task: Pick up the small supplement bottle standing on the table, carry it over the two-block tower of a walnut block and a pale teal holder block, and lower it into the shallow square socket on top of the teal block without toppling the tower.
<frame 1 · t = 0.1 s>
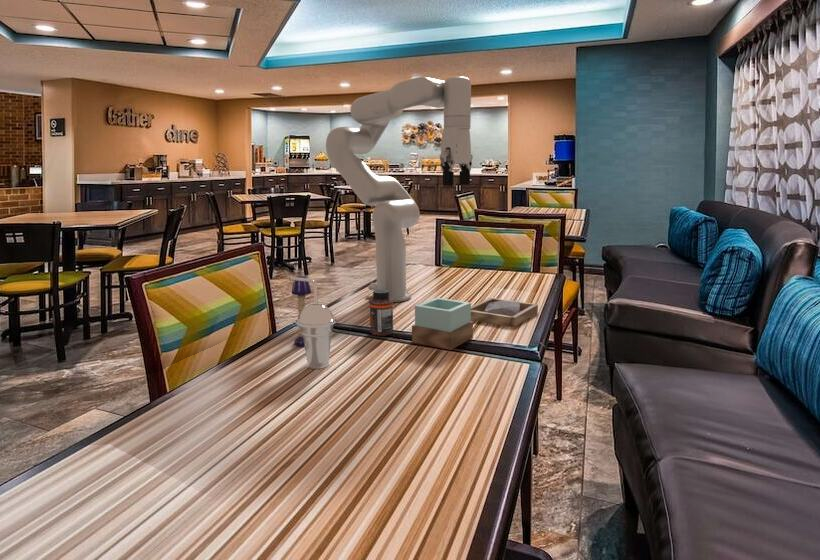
hand: (456, 185, 157), 37 cm above the table, tool pointing down, fingers open, 9 cm apart
toy lamp: (304, 344, 133), on the table
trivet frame: (501, 315, 156), on the table
cup with straw: (317, 365, 118), on the table
stone block: (502, 317, 156), on the table
supplement bottle: (381, 333, 141), on the table
tower top: (443, 323, 134), point 4 cm above the table, touching tower base
tower base: (442, 341, 135), on the table, touching tower top
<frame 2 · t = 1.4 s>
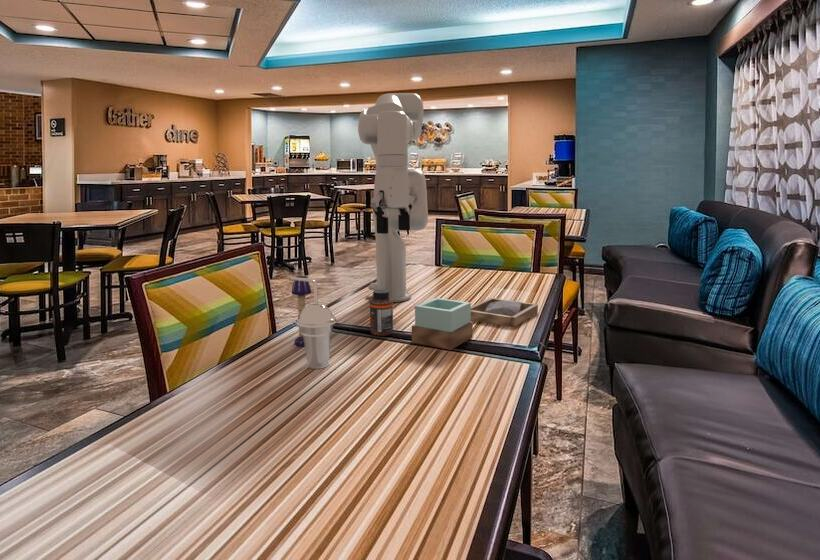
hand: (393, 231, 138), 26 cm above the table, tool pointing down, fingers open, 9 cm apart
nothing on the table moved.
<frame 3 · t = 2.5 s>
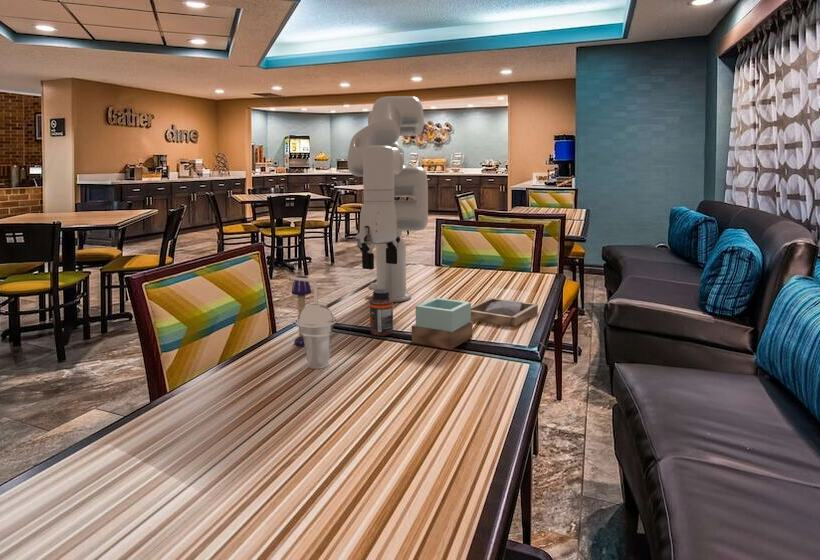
hand: (380, 266, 136), 18 cm above the table, tool pointing down, fingers open, 9 cm apart
nothing on the table moved.
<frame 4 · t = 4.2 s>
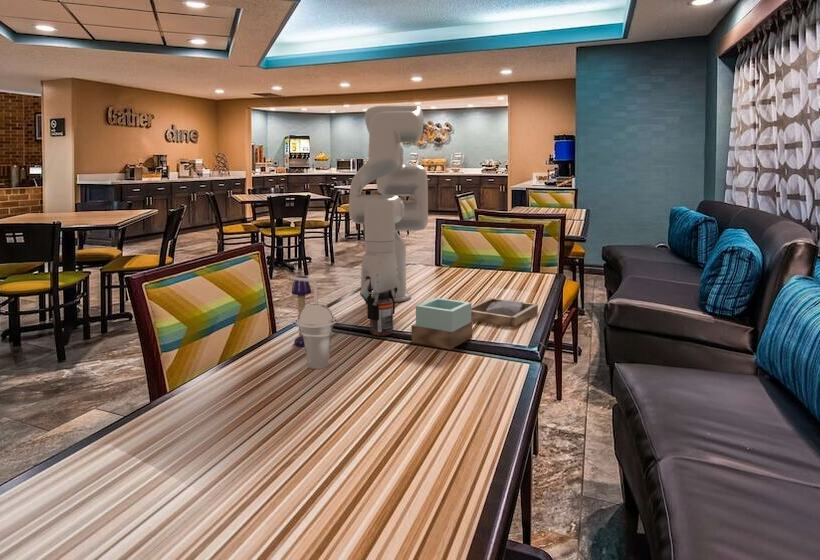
hand: (381, 315, 140), 5 cm above the table, tool pointing down, fingers closed on supplement bottle, 6 cm apart
supplement bottle: (381, 333, 141), on the table, touching gripper
tower top: (443, 323, 134), point 4 cm above the table
tower base: (442, 340, 135), on the table
everything else where it was.
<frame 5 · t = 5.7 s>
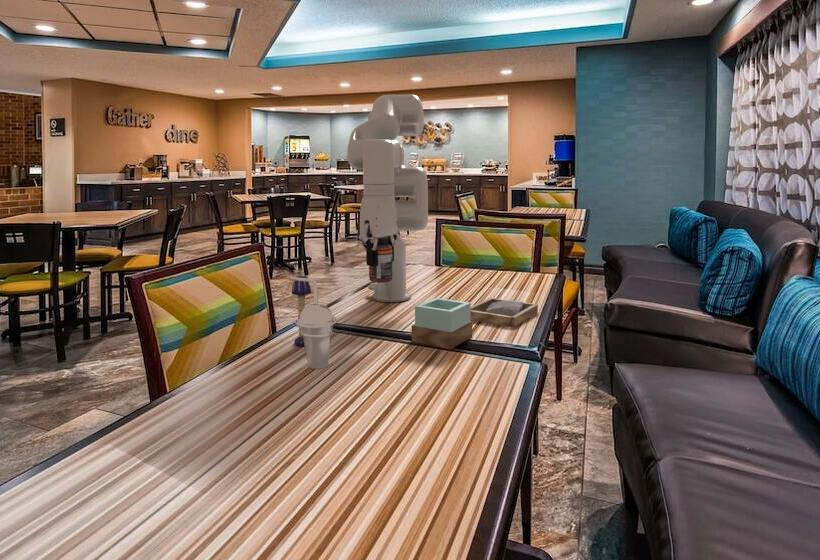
hand: (380, 262, 137), 18 cm above the table, tool pointing down, fingers closed on supplement bottle, 6 cm apart
supplement bottle: (380, 281, 138), point 14 cm above the table, touching gripper
tower top: (443, 324, 134), point 4 cm above the table, touching tower base
tower base: (442, 340, 136), on the table, touching tower top
everything else where it was.
when the fingers open (11 cm above the table, at t = 9.5 s): supplement bottle moves 1 cm, resting on tower top.
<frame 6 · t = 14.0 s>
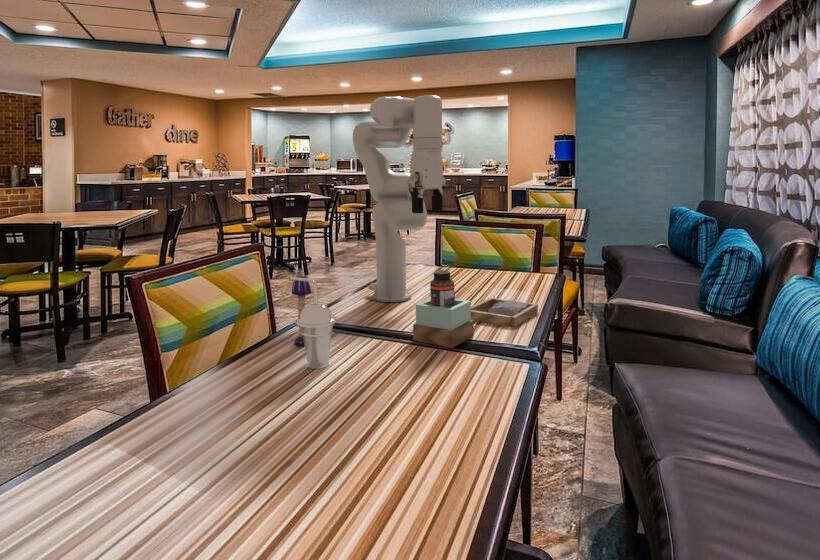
hand: (427, 211, 145), 30 cm above the table, tool pointing down, fingers open, 9 cm apart
supplement bottle: (443, 317, 135), point 5 cm above the table, touching tower top
tower top: (443, 322, 135), point 4 cm above the table, touching supplement bottle, tower base
at the end: supplement bottle 0.2 cm off-centre on the tower top, point 1.5 cm above the tower top's base; supplement bottle tilted 3°; tower top moved 1.4 cm from its start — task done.
